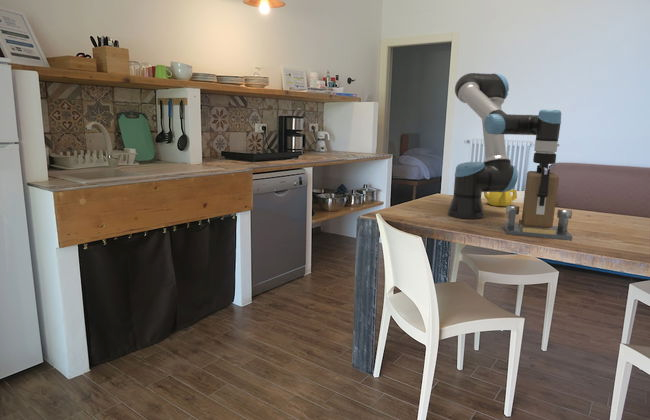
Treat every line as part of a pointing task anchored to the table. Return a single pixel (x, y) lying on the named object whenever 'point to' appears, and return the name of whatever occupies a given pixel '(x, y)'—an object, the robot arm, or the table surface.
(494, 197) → the yellow rounded piece
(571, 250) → the table surface
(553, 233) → the grey metal fixture stand
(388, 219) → the table surface
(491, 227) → the table surface
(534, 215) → the wooden block
